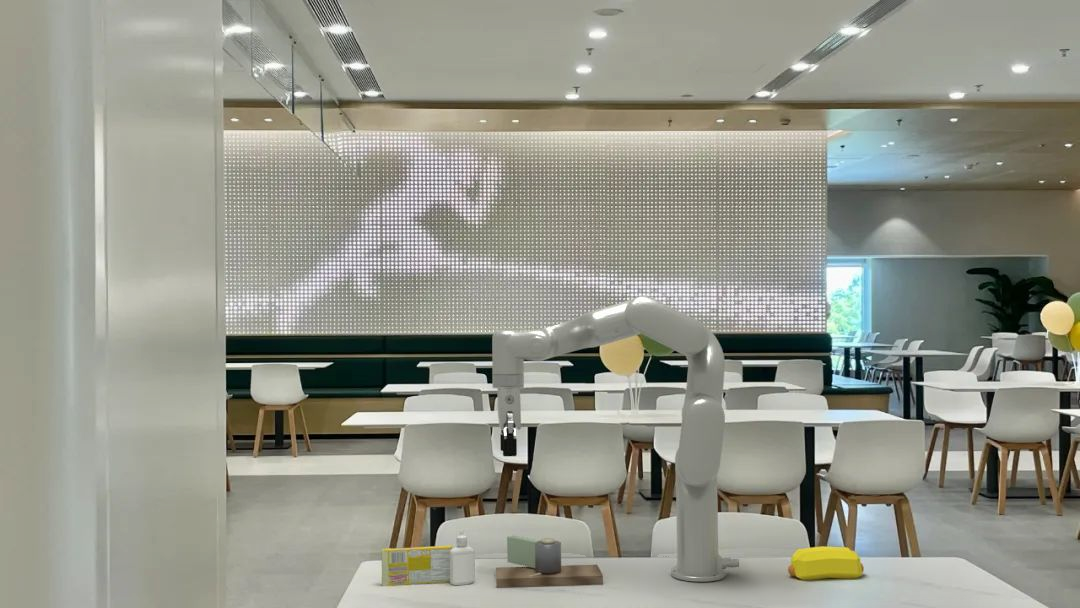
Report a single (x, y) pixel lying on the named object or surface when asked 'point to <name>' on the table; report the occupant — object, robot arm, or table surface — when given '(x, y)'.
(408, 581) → the candy box
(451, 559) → the eye dropper bottle
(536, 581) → the post base
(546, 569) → the grey and green piece
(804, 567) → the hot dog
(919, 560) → the table surface
